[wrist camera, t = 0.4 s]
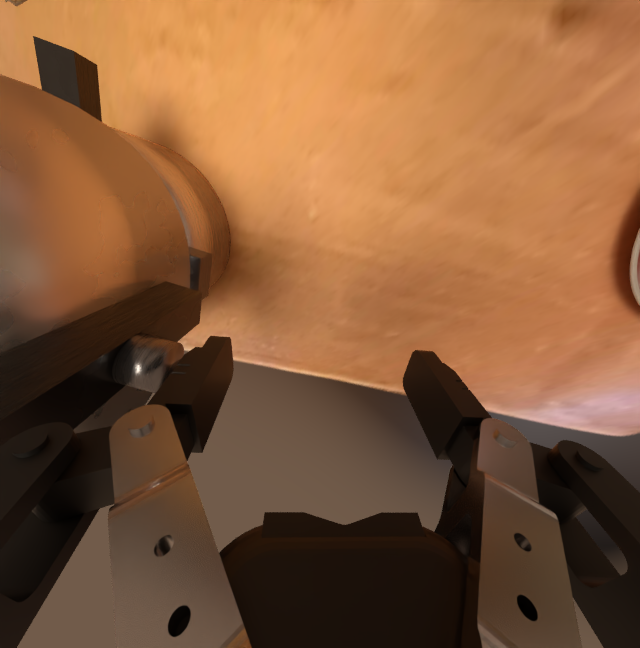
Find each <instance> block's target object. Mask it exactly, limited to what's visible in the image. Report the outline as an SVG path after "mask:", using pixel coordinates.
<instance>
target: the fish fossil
mask: <svg viewBox="0 0 640 648" xmlns="http://www.w3.org/2000/svg"><path fill="white" fill-rule="evenodd" d="M5 1H6V2H7V1H9V2H12V3H13V4H14V5H15V6H18V5H20V4H22V3H23V2H25V1H27V0H5Z"/></svg>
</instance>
